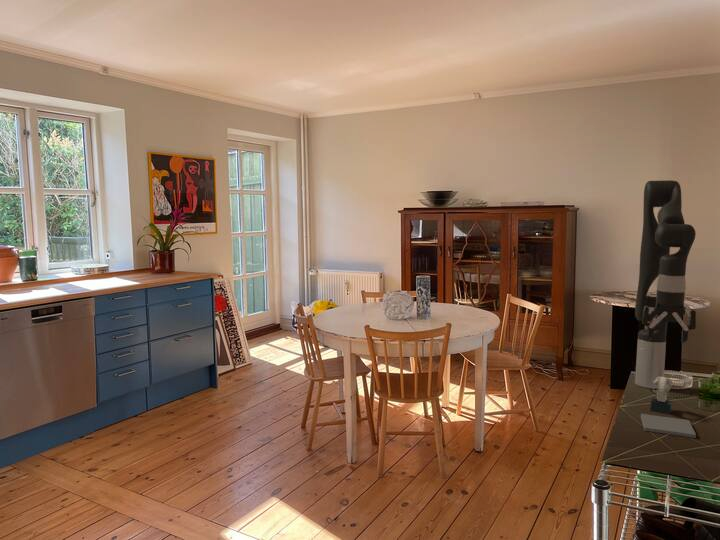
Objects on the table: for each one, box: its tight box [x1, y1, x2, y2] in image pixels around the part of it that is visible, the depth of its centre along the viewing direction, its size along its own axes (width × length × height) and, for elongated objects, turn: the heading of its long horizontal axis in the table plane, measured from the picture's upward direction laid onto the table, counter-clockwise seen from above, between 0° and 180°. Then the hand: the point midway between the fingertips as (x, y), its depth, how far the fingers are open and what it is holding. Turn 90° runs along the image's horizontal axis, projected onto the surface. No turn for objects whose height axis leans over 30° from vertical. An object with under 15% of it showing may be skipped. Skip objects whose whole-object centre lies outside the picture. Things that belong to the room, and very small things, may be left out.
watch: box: [650, 376, 673, 415], centre depth 175 cm, size 6×8×11 cm
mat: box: [640, 413, 697, 439], centre depth 162 cm, size 12×13×1 cm
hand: (667, 340), depth 168 cm, fingers open, 8 cm apart
